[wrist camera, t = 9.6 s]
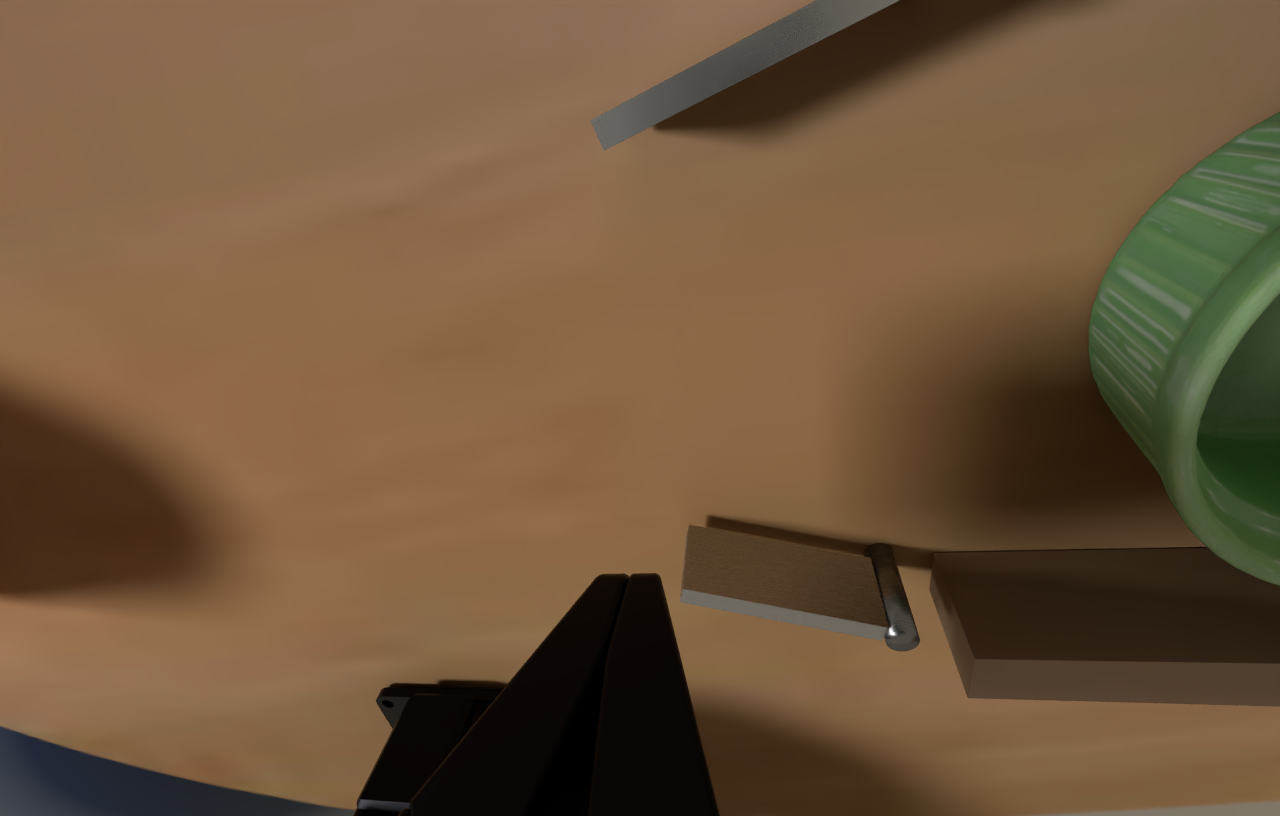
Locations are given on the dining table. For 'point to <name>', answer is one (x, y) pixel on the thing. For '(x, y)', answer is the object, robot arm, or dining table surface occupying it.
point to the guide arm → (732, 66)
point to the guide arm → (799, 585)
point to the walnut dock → (1110, 626)
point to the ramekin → (1204, 347)
